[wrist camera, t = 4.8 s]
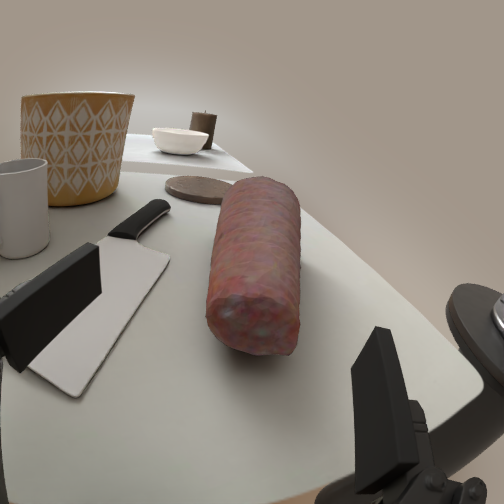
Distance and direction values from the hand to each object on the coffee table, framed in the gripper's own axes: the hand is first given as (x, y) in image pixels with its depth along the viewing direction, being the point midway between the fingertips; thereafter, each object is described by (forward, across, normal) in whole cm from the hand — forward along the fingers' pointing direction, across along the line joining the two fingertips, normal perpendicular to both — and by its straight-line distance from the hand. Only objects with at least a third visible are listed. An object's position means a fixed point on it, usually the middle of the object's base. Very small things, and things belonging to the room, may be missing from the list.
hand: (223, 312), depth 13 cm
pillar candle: (+100, -38, -7) cm, 107 cm away
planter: (+26, -34, -8) cm, 43 cm away
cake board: (+41, -15, -7) cm, 44 cm away
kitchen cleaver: (+12, -13, -7) cm, 19 cm away
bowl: (+77, -37, -7) cm, 86 cm away
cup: (+7, -25, -8) cm, 27 cm away
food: (+14, -1, -7) cm, 16 cm away
